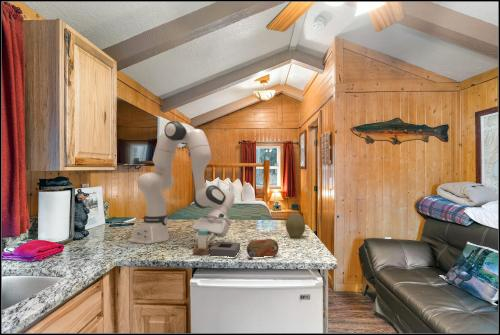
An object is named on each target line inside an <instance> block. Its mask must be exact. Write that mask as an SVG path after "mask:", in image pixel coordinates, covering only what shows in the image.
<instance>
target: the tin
mask: <svg viewBox="0 0 500 335" xmlns="http://www.w3.org/2000/svg"><path fill="white" fill-rule="evenodd" d="M278 252H279V244H278V242H277V241H276V240H275V239H272V238H261V239H260V238H259V239H252V240H251V241H250V242H248V244H247V245H246V253H247V255H248V257H250V258H251V257H264V256H274V257H275V256H277V254H278Z"/></svg>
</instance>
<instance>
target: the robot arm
mask: <svg viewBox="0 0 500 335" xmlns="http://www.w3.org/2000/svg"><path fill="white" fill-rule="evenodd" d="M179 144H182V145H187V146H188V151H189V155H190V162H191V163H190V164H191V175H192V183H193V188H194V191H193V202H194V205H195V206H196V207H197V208H199V209H201V210H202V209H203V210H204V209H207V208H208V207H211V209H210V211H209V212H208V214H207V215H206V216H205V215H202V216H200V217H199V218H198V219H197V220H196V222H195V223H194V224H193V225H192V230H193V231H194V232H195V233H197V235H196V238H195V240H196V241H198V231H199V230H201V229H206V230H208V232H209V238H207V240H206V242H207V243H209V244H211V242H212V241H213V240H214V239H215V238H216V237H220V238H224V237H225V236H227V234H228V232H229V229H230V226H231V225H232V222H231V219H230V218H229V217H228V216H227V215H228V213H229V212H230V211H231V210H232V207H233V205H234V202H235V196H234V193H233V192H232V191H231V190H228V189H222V188H220V187H219V186H217V185H213V184H212V185H209V186H206V181H205V170H206V168H207V166H208V164H209V163H210V161H211V160H212V151H211V147H210V143H209V140H208V138H207V136H206V134H205V132H204V131H203V130H202V129H201V128H196V127H195V126H193V125H190V124H188V123H185V122H180V121H178V120H171V121H168V122H167V123H166V125H164V130H163V132H161V134H160V135H159V138H158V140H157V142H156V146H155V148H154V152H153V156H152V162H153V164H154V172H146V173H143V174H141V175H139V177H138V179H137V181H136V184H137V187H138V189H139V190H140V191H141V192H142V193H143V196H144V199H145V206H146V207H145V208H146V209H145V211H146V215H144V216H143V217H141V219H142V220H143V222H142V223H140V224H139V225H138V226H136V227H135V228H134V229H133V231H132V236H131V237H129V238H128V240H127V242H130V243H135V244H136V243H137V244H147V245H149V244H155V243H161V242H162V243H163V242H166V241H168V240H169V239H170V236H169V232H168V231H169V230H168V213H167V209H168V208H167V203H168V202H167V200H166V199H165V198H164V196H163V192H162V191H166V190H169V189H171V188H172V187H173V185H174V184H175V183H174V182H175V180H174V176H173V174H172V172H173V171H172V168H173V162H174V159H175V154H176V151H177V147H178V145H179Z"/></svg>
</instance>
